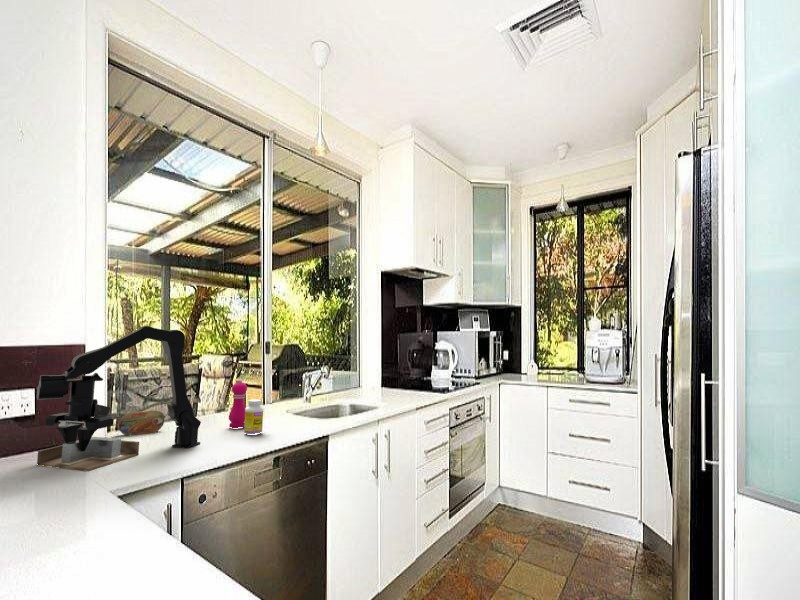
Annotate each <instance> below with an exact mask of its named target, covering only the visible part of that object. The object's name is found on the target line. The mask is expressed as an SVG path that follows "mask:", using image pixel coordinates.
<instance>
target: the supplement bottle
mask: <svg viewBox="0 0 800 600" xmlns="http://www.w3.org/2000/svg"><path fill="white" fill-rule="evenodd" d="M247 403H248V406H247V407H245V424H244V428H243V434H244V433H246V434H255V433H260V432H262V433H263V423H264V421H263V420H264V408H263V407H262V406H261V405H262V400H261V399H248V402H247Z"/></svg>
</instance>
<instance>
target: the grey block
mask: <svg viewBox="0 0 800 600" xmlns="http://www.w3.org/2000/svg"><path fill="white" fill-rule="evenodd" d="M121 440H122V438H116V437H115V438H114V437H102V436H92V437H91V439H90V441H89V444H88V446H87V448H86V450H85V451H83V452H81V450H80V446H79V440H78V439H76V441H72V442H68V443H66V442H64V443H62V445H63V448H62V458H61V462H73V461H77V460H80V459H84V458H88V457H103V458H114V457H118V456H120V449H121Z"/></svg>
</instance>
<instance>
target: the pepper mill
mask: <svg viewBox="0 0 800 600" xmlns="http://www.w3.org/2000/svg"><path fill="white" fill-rule="evenodd" d="M247 391H248V385H247V384H246V383H245V382H243V379H242V378H238V379H237V382H235V383H234V384H232V387H231V392H232V393H233V394H232V399H233V404H232V407H231V410H230V412H229V414H228V420H229V421H230V422H229V427H232V428H238V427H244V424H245V409H246V406H245V399H246V392H247Z"/></svg>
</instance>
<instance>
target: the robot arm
mask: <svg viewBox="0 0 800 600" xmlns="http://www.w3.org/2000/svg"><path fill="white" fill-rule="evenodd" d="M148 339H149V340H153V341H157V342H161V344H162V347H163V350H164V352H165V354H166V356H167V361H168V362H167V363H168V369H169V378H170V386H171V394H172V396H171V397H172V399H171V403H166V406H167V410H168V411H167V416H168V417H169V418H170V419H171V421H173V422H175V425H176V429H175V432H174V444H172V445H171V447H173V448H183V447H184V448H185V449H187V448H188V447H189V448H192V447H195V446H197V444H198V445H200V444H201V442H200V441H198V436H199V428H200V425H201V424H202V422H201V420H200V419H198V418H197V417H196V416H195V412H194V408H193V405H192V403H191V401H190V399H189V397H188V395H187V394H188V392H187V383H186V376H185V375H186V374H185V368H184V367H185V366H184V360H183V359H184V358H183V356H184V355H183V353H184V350H185V345H186V336H185V332H183V331H181V330H179V329H167V330H165V329H161V328H157V327H152V326H151V325H143V326H140V327H139V328H137V329H136V330H133V331H132V332H130V333H128V334H126V335H124V336H122V337H120V338H118V339H116V340H114V341H113V342H110V343H109V344H108V343H107V344H105V346H102V347H99V348H97V349H93V350H90V351H86V352H83V353H80V354H78V355H77V356H75V357H74V358H73V359H72V360H71V361H72V362H71V365H70V367H68V368H67V369H66V370H65V371H64V372H63V374H58V375H55V374H54V375H50V374H49V375H48V374H40V376H39V382H38V386H37V387H36V388H37V389H36V390H37V391H36V399H37V400H38V401H39V400H54V399H55V400H56V399H57V400H58V399H63V398H64V396H66V395H68V394H69V400H66V401H65V406H66V405H67V406H68V412H61V413H56V414H50V415H48V416H47V417H46V418H45V426H49V427H54V426H55V425H57V424H58V426H56V427H55V429H56V430H58V431H59V433H60V435H61V436H62V438H63V440H64V441H65V442H64V443H68V442H72V441H77V440H79V446H80V450H81V452H83V451H85V450H86V448H87V446H88V444H89V441H90V439H91V437H94V434H95V433H96V431H98V430H100V429H103V428H108V427H109V428H110V427H113V426H114V422H115V421H114V420H115V419H114V417H113V416H111V415H110V416H109V414H110V411H111V409H112V408H111V407H110V406H106V405H101V404H98V399H96V398H95V399H94V396H95V385H96V382H100V381H101V382H102V381H104V378H102V377H101V376H100V375H99V373H97V372H95V371H96V370H98V369H99V368H101V367H102V366H103V365H104V364H106V362H108V361H109V360H110V359H111V358H113V357H115V356H116V355H119V354H120V353H122V352H124V351H126V350H128V349H130V348H132V347H133V346H135V345H138V344H139V343H142V342H143V341H145V340H148ZM93 372H94V373H93ZM92 373H93V374H92ZM89 374H91V375H89ZM78 377H80V378H78ZM69 389H70V393H69ZM82 425H83V426H82ZM194 445H195V446H194ZM191 446H192V447H191ZM189 448H188V449H189Z"/></svg>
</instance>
